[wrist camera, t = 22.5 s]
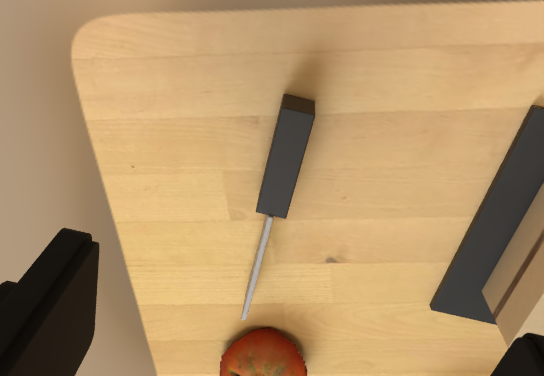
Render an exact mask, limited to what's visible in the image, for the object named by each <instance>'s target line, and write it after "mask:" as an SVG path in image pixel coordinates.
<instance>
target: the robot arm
mask: <svg viewBox="0 0 544 376" xmlns="http://www.w3.org/2000/svg"><path fill="white" fill-rule="evenodd" d="M98 260H99V243H98V242H94V241H92V236H91V234H89V233H85V232H81V231H76V230H72V229H67V228H63V229H61V230H60V231H59V233H58V234H57V235H56V236H55V237H54V238H53V240H52V241H51V242H50V243H49V245H48V246H47V247H46V248H45V250H44V251H43V252H42V253H41V255H40V256H39V257H38V258H37V259H36V261H35V262H34V263H33V264H32V266H31V267H30V268H29V269H28V270H27V272H26V273H25V274H24V275H23V277H22V278H21V279H20V280H19V282H18V283H16V282H11V281H6V282H3V283H2V284H1V285H0V376H75V374H76V372H77V370H78V368H79V366H80V364H81V363H82V361H83V359H84V357H85V355H86V353H87V351H88V349H89V347H90V345H91V342H92V339H93V336H94V330H95V313H96V296H97V279H98V262H99V261H98ZM491 376H544V336H543V335H539V334H534V333H526V334H524V335H523V336H522V337H518V338H516V339H515V340H514V341H513V343H512V344H511V346H510V347H509V349H508V350H507V352H506V353H505V355H504V356H503V358H502V359H501V361H500V362H499V364H498V365H497V367H496V368H495V370H494V371H493V373H492V374H491Z"/></svg>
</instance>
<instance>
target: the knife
mask: <svg viewBox="0 0 544 376" xmlns="http://www.w3.org/2000/svg"><path fill="white" fill-rule="evenodd" d="M314 118H315V102H314V101H311V100H307V99H303V98H299V97H295V96H291V95H287V94H284V95H283V98H282V102H281V107H280V111H279V115H278V119H277V123H276V127H275V131H274V135H273V139H272V144H271V148H270V152H269V156H268V160H267V164H266V168H265V172H264V176H263V181H262V185H261V189H260V193H259V198H258V203H257V208H256V212H258V213H262V214H266V217H265V221H264V225H263V229H262V233H261V237H260V241H259V245H258V248H257V252H256V256H255V260H254V264H253V268H252V272H251V276H250V279H249V283H248V287H247V291H246V295H245V301H244V306H243V312H242V317H241V319H243V320H246V318H247V315H248V311H249V307H250V303H251V300H252V296H253V292H254V288H255V285H256V281H257V277H258V273H259V270H260V266H261V262H262V258H263V255H264V251H265V247H266V243H267V240H268V236H269V232H270V228H271V225H272V221H273V216H275V217H280V218H284V219H286V217H287V213H288V210H289V206H290V203H291V199H292V196H293V192H294V189H295V185H296V181H297V178H298V174H299V171H300V167H301V164H302V160H303V157H304V153H305V150H306V146H307V143H308V139H309V135H310V132H311V128H312V125H313V121H314Z"/></svg>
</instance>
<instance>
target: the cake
mask: <svg viewBox="0 0 544 376" xmlns="http://www.w3.org/2000/svg"><path fill="white" fill-rule="evenodd" d="M430 308H431V310H434V311H438V312H443V313H447V314H451V315H456V316H460V317H465V318H469V319H473V320H478V321H482V322H487V323H491V324H496V325H498V327H499V330H500V332H501V334H502V336H503V338H504V340H505V342H506V345H507V347H508V348H509V347H510V346H511V344H512V343H513V341H514V340H515V339H516V338H518V337H522V336H523V335H524V334H526V333H534V334H539V335H543V336H544V108H542V107H538V106H534V105H532V106H531V108H530V110H529V112H528V114H527V116H526V118H525V120H524V122H523V124H522V126H521V128H520V130H519V132H518V134H517V136H516V138H515V140H514V142H513V143H512V145H511V147H510V149H509V151H508V153H507V155H506V157H505V159H504V161H503V163H502V165H501V167H500V169H499V171H498V173H497V175H496V177H495V179H494V181H493V183H492V184H491V186H490V188H489V190H488V192H487V194H486V196H485V198H484V200H483V202H482V204H481V206H480V208H479V210H478V212H477V214H476V216H475V218H474V220H473V222H472V224H471V226H470V227H469V229H468V231H467V233H466V235H465V237H464V239H463V241H462V243H461V245H460V247H459V249H458V251H457V253H456V255H455V257H454V259H453V261H452V263H451V265H450V267H449V268H448V270H447V272H446V274H445V276H444V278H443V280H442V282H441V284H440V286H439V288H438V290H437V292H436V294H435V296H434V298H433V300H432V302H431V304H430Z"/></svg>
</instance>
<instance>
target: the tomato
mask: <svg viewBox="0 0 544 376" xmlns="http://www.w3.org/2000/svg"><path fill="white" fill-rule="evenodd" d="M266 328H267V329H265V328H263V329H258V330H255V331H252V332H251V333H249V334H247V335H246V336H244V337H243V338H241V339H240V340H237V341H236V342H234V343H233V344H232V345H231V347H229V348H228V350H227V351H226V352H225V353H224V355H222V361H220V376H307V369H306V366H304V365H305V361H303V356H301V353H298V349H297V348H296V345H294V344H293V343H291V342H290V341H289V340H287V339H286V338H285V337H284V336H283V335H282V334H280V333H279V332H278V331H277V330H275V329H272V328H270V327H266Z"/></svg>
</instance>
